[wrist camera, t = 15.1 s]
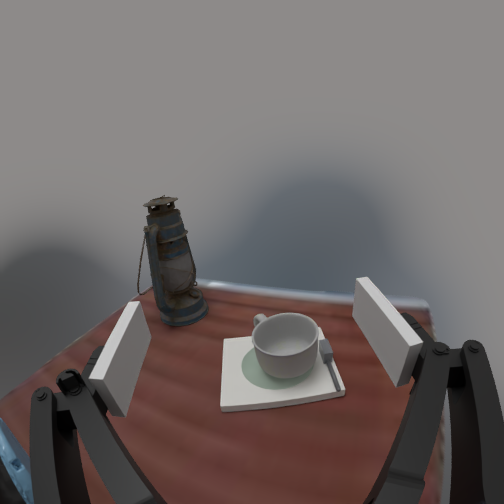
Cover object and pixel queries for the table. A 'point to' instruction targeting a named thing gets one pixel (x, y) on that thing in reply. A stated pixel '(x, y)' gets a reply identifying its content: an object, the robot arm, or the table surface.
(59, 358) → the table surface
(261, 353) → the teacup
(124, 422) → the table surface
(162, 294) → the lantern
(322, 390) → the record player
